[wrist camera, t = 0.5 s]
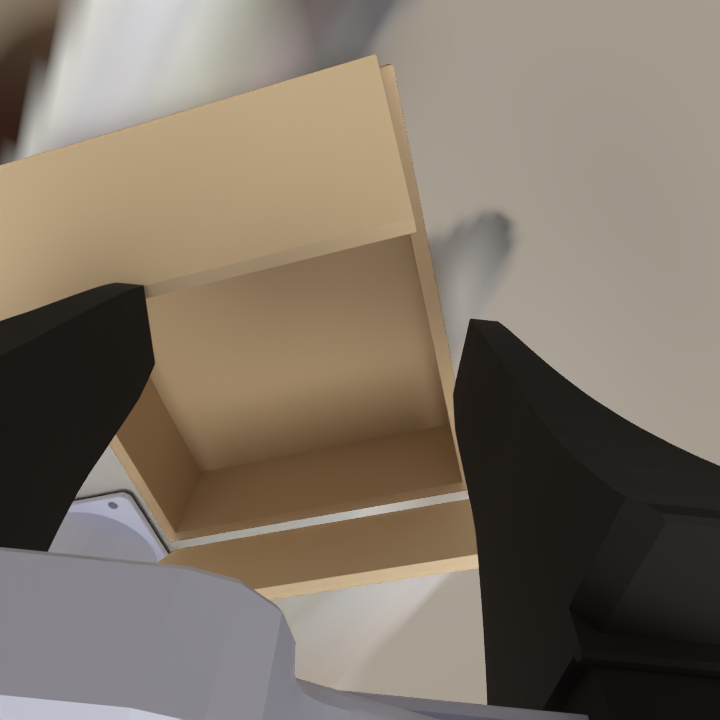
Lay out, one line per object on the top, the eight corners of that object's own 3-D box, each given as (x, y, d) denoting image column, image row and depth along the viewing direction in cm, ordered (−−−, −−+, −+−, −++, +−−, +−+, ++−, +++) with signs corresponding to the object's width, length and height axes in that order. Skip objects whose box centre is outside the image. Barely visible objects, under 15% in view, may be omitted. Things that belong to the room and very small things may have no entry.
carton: (198, 474, 28) (170, 542, 24) (33, 167, 20) (-49, 193, 16) (460, 424, 26) (476, 488, 22) (388, 64, 18) (392, 64, 14)
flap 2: (174, 549, 23) (176, 558, 23) (86, 615, 17) (88, 627, 17) (468, 499, 21) (470, 508, 21) (482, 553, 16) (485, 566, 16)
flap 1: (-121, 364, 13) (-138, 356, 12) (-48, 193, 16) (-60, 183, 15) (416, 231, 11) (414, 217, 10) (379, 68, 14) (376, 54, 14)
